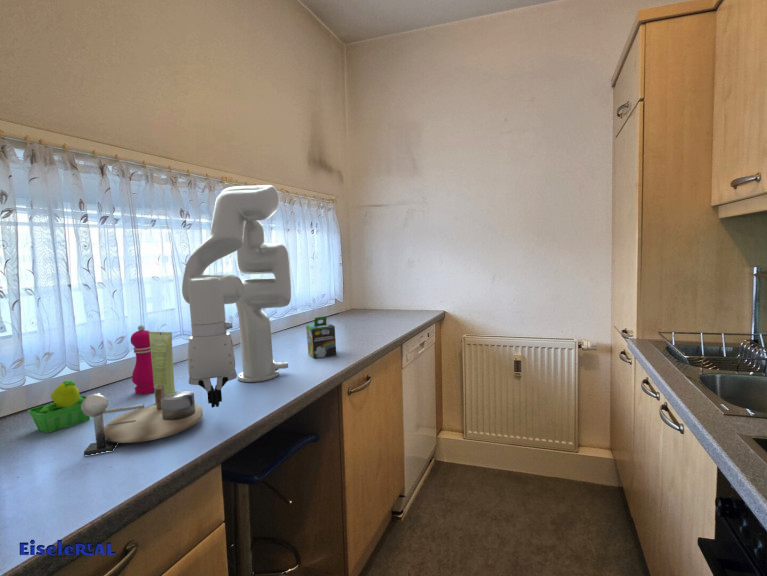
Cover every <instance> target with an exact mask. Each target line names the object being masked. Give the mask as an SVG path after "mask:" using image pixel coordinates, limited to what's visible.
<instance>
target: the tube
mask: <svg viewBox="0 0 767 576" xmlns="http://www.w3.org/2000/svg"><path fill="white" fill-rule="evenodd" d="M149 338H150V348H151V358H152V369H153V381H154V393H153V394H154V402H155V405H157V403H156V393H155V389H156V388H157V386H158V385H162V384H164V394H165V395H166V394H169V393H173V392H176V391H175V390H176V388H175V376H174V375H175V373H174V358H173V356H174V355H173V333H172V331H150V332H149Z"/></svg>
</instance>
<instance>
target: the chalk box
mask: <svg viewBox="0 0 767 576" xmlns="http://www.w3.org/2000/svg"><path fill="white" fill-rule="evenodd" d="M320 320H321V321H322V322H319V321H320ZM313 323H314V324H308V325H306V326H305V328H306V340H307V341H306V342H307V353H308V355H309V356H310V357H311V358H313V359H314V360H315V359H319V358H320V359H321V358H327V357H329V358H330V357H335V355H336V356H337V345H336V344H337V343H336V342H337V341H336V326H335V325H333V324H332V323H330V322H328V321H327V316H318V317H315V318H314V322H313Z"/></svg>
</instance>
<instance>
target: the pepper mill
mask: <svg viewBox="0 0 767 576" xmlns="http://www.w3.org/2000/svg"><path fill="white" fill-rule="evenodd" d="M137 330H138V331H134V333H132V334H131V337H130V344H131V345H132V346H133V347H134V348H133V353H134V354H135V365H134V368H133V371H132V374H131V381H132V383H133V384H134V385H135V387H134V392H135V394H136V395H137V394H145V395H149V393H150V394H154V393H153V392H154V381H153V369H152V358H151V348H150V338H149V332H151V331H149V330H148V329H147V330H146V329H145V326H144V325H143V324H141V325H138V327H137Z"/></svg>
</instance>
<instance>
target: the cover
mask: <svg viewBox="0 0 767 576" xmlns="http://www.w3.org/2000/svg"><path fill="white" fill-rule="evenodd" d="M195 404H196V402H195V393H194V391H192V390H179V391H175V392H173V393H169V394H166V395H164V396H162V397H161V409H162V418H163V419H164V420H179V419H184V418H187V417H189V416H191V415H193V414H194V413H195V412H196V411H195Z"/></svg>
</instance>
